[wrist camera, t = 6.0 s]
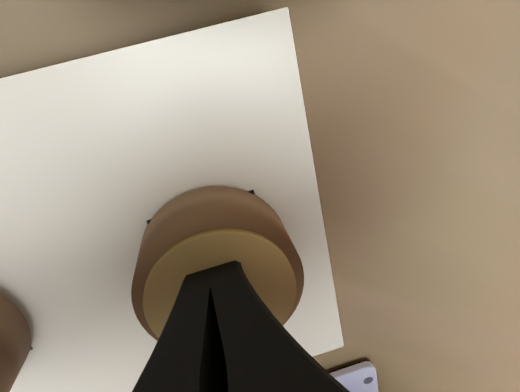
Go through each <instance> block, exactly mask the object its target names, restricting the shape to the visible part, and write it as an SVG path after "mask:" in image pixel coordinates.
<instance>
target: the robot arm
mask: <svg viewBox="0 0 520 392" xmlns="http://www.w3.org/2000/svg"><path fill="white" fill-rule="evenodd" d="M132 392H379V391H378V382H377V373H376V369H375V367H374V365H373V363H371V362H368V361H365V362H361V363H358V364H355V365H352V366H349V367H346V368H344V369H341V370H338V371H335V372H332V373H328V372H327V371H326V370H325V369H324V368H323V367H322V366H321V365H320V364H319V363H318V362H317V361H316V360H315V359H314V358H313V357H312V356H311V355H310V354H309V353H308V352H307V351H306V350H305V349H304V348H303V347H302V346H301V345H300V344H299V343H298V342H297V341H296V340H295V339H294V338H293V337H292V336H291V334H290V333H289V332H288V331H287V330H286V329H285V328H284V327H283V326H282V324H281V323H280V322H279V321H278V320H277V319H276V317H275V316H274V315H273V314H272V312H271V311H270V310H269V309H268V307H267V306H266V305H265V303H264V302H263V301H262V300H261V298H260V297H259V296H258V294H257V293H256V291H255V290H254V288H253V287H252V285H251V284H250V282H249V280H248V279H247V277H246V275H245V273H244V271H243V268H242V265H241V263H240V262H238V261H236V260H234V261H231V262H227V263H224V264H221V265H218V266H215V267H211V268H208V269H205V270H201V271H198V272H195V273H192V274H188V275H186V277H185V278H184V280H183V282H182V285H181V287H180V290H179V293H178V295H177V298H176V300H175V303H174V305H173V307H172V310H171V312H170V314H169V317H168V319H167V321H166V324H165V326H164V328H163V330H162V332H161V335H160V337H159V339H158V341H157V343H156V345H155V348H154V350H153V352H152V354H151V356H150V358H149V360H148V362H147V364H146V365H145V367H144V369H143V371H142V373H141V375H140V377H139V379H138V381H137V383H136V385H135V387H134V389H133V390H132Z"/></svg>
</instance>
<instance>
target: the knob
mask: <svg viewBox="0 0 520 392" xmlns="http://www.w3.org/2000/svg"><path fill="white" fill-rule="evenodd" d="M234 260H236V261H238V262H240V263H241V265H242V268H243V271H244V273H245V275H246V277H247V279H248V280H249V282H250V284H251V285H252V287H253V288H254V290H255V291H256V293H257V294H258V296H259V297H260V298H261V300H262V301H263V302H264V303H265V305H266V306H267V307H268V309H269V310H270V311H271V312H272V314H273V315H274V316H275V317H276V319H277V320H278V321H279V322H280V323H281V324H282V326H283V325H284V324H285V323H286V322H287V321H288V320H289V318H290V317H291V316H292V314H293V313H294V311H295V310H296V308H297V306H298V304H299V302H300V299H301V296H302V292H303V287H304V271H303V265H302V262H301V259H300V257H299V255H298V253H297V250H296V249H295V247H294V245H293V243H292V241H291V239H290V237H289V235H288V233H287V231H286V229H285V227H284V225H283V223H282V222H281V220H280V218H279V216H278V215H277V213H276V212H275V211H274V210H273V209H272V207H271V206H270V205H269V204H267V203H266V202H265V201H264V200H262V199H261V198H259V197H257V196H256V195H254V194H252V193H249V192H247V191H244V190H240V189H237V188H231V187H205V188H200V189H196V190H193V191H190V192H187V193H184V194H182V195H180V196H178V197H176V198H174V199H173V200H171V201H170V202H168V203H167V204H166V205H164V206H163V207H162V208H161V209H160V210H159V211H158V212H157V213H156V214H155V215H154V216H153V218H152V219H151V221H150V222H149V224H148V225H147V227H146V230H145V232H144V234H143V237H142V241H141V245H140V249H139V254H138V258H137V263H136V267H135V272H134V276H133V280H132V288H131V300H132V305H133V309H134V312H135V315H136V317H137V319H138V321H139V322H140V324H141V325H142V327H143V328H144V329H145V330H146V331H147V333H148V334H149V335H151V336H152V337H153V338H154V339H155V340H157V341H158V339H159V337H160V335H161V332H162V330H163V328H164V326H165V324H166V321H167V319H168V317H169V314H170V312H171V310H172V307H173V305H174V303H175V300H176V298H177V295H178V293H179V290H180V287H181V285H182V282H183V280H184V278H185V277H186V275H188V274H192V273H195V272H198V271H201V270H205V269H208V268H211V267H215V266H218V265H221V264H224V263H227V262H231V261H234Z"/></svg>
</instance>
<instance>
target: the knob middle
mask: <svg viewBox="0 0 520 392" xmlns="http://www.w3.org/2000/svg"><path fill="white" fill-rule="evenodd" d="M30 347H31V332H30V328H29V325H28V323H27V320H26V319H25V317H24V316H23V314H22V313H21V311H20V310H19V309H18V308H17V307H16V306H15V305H14V304H13V303H12V302H11V301H10V300H9V299H7V298H6V297H5V296H3V295H2V294H0V392H10V390H11V388H12V386H13V384H14V382H15V380H16V378H17V376H18V374H19V372H20V370H21V368H22V366H23V364H24V362H25V360H26V358H27V356H28V354H29V351H30Z"/></svg>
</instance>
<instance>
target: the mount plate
mask: <svg viewBox="0 0 520 392" xmlns="http://www.w3.org/2000/svg"><path fill="white" fill-rule="evenodd" d="M205 187H231V188H237V189H240V190H244V191H249V192H250V193H252V194H254V195H256V196H257V197H259V198H261V199H262V200H264V201H265V202H266V203H267V204H269V205H270V206H271V207H272V209H273V210H274V211H275V212H276V213H277V215H278V216H279V218H280V220H281V222H282V223H283V225H284V227H285V229H286V231H287V233H288V235H289V237H290V239H291V241H292V243H293V245H294V247H295V249H296V250H297V253H298V255H299V257H300V259H301V262H302V265H303V271H304V287H303V292H302V296H301V299H300V302H299V304H298V306H297V308H296V310H295V311H294V313H293V314H292V316H291V317H290V318H289V320H288V321H287V322H286V323H285V324H284V325H283V327H284V328H285V329H286V330H287V331H288V332H289V333H290V334H291V336H292V337H293V338H294V339H295V340H296V341H297V342H298V343H299V344H300V345H301V346H302V347H303V348H304V349H305V350H306V351H307V352H308V353H309V354H310V355H311V356H312V357H313V356H316V355H319V354H322V353H325V352H328V351H331V350H334V349H337V348H340V347H343V346H344V343H343V337H342V331H341V325H340V319H339V313H338V307H337V301H336V295H335V289H334V283H333V277H332V271H331V264H330V258H329V252H328V246H327V240H326V234H325V228H324V222H323V216H322V210H321V204H320V198H319V192H318V186H317V180H316V173H315V167H314V161H313V155H312V149H311V143H310V137H309V131H308V125H307V119H306V113H305V107H304V101H303V95H302V88H301V82H300V76H299V70H298V64H297V58H296V52H295V46H294V40H293V34H292V28H291V22H290V16H289V10H288V7H285V8H281V9H277V10H273V11H269V12H265V13H261V14H257V15H253V16H249V17H245V18H241V19H237V20H233V21H229V22H225V23H221V24H217V25H213V26H209V27H205V28H201V29H197V30H193V31H189V32H185V33H181V34H177V35H173V36H169V37H165V38H161V39H157V40H153V41H149V42H145V43H141V44H137V45H133V46H129V47H125V48H121V49H117V50H113V51H109V52H105V53H101V54H97V55H93V56H88V57H84V58H80V59H76V60H72V61H68V62H64V63H60V64H56V65H52V66H48V67H44V68H40V69H36V70H32V71H28V72H24V73H20V74H16V75H12V76H8V77H4V78H0V294H2V295H3V296H5V297H6V298H7V299H9V300H10V301H11V302H12V303H13V304H14V305H15V306H16V307H17V308H18V309H19V310H20V311H21V313H22V314H23V316H24V317H25V319H26V320H27V323H28V325H29V328H30V332H31V347H30V351H29V354H28V356H27V358H26V360H25V362H24V364H23V366H22V368H21V370H20V372H19V374H18V376H17V378H16V380H15V382H14V384H13V386H12V388H11V390H10V392H132V390H133V389H134V387H135V385H136V383H137V381H138V379H139V377H140V375H141V373H142V371H143V369H144V367H145V365H146V364H147V362H148V360H149V358H150V356H151V354H152V352H153V350H154V348H155V345H156V343H157V340H155V339H154V338H153V337H152V336H151V335H149V334H148V333H147V331H146V330H145V329H144V328H143V327H142V325H141V324H140V322H139V321H138V319H137V317H136V315H135V312H134V309H133V305H132V300H131V288H132V280H133V276H134V272H135V267H136V263H137V258H138V254H139V249H140V245H141V241H142V237H143V234H144V232H145V230H146V227H147V225H148V224H149V222H150V221H151V219H152V218H153V216H154V215H155V214H156V213H157V212H158V211H159V210H160V209H161V208H162V207H163V206H164V205H166V204H167V203H168V202H170V201H171V200H173V199H174V198H176V197H178V196H180V195H182V194H184V193H187V192H190V191H193V190H196V189H200V188H205Z"/></svg>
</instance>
